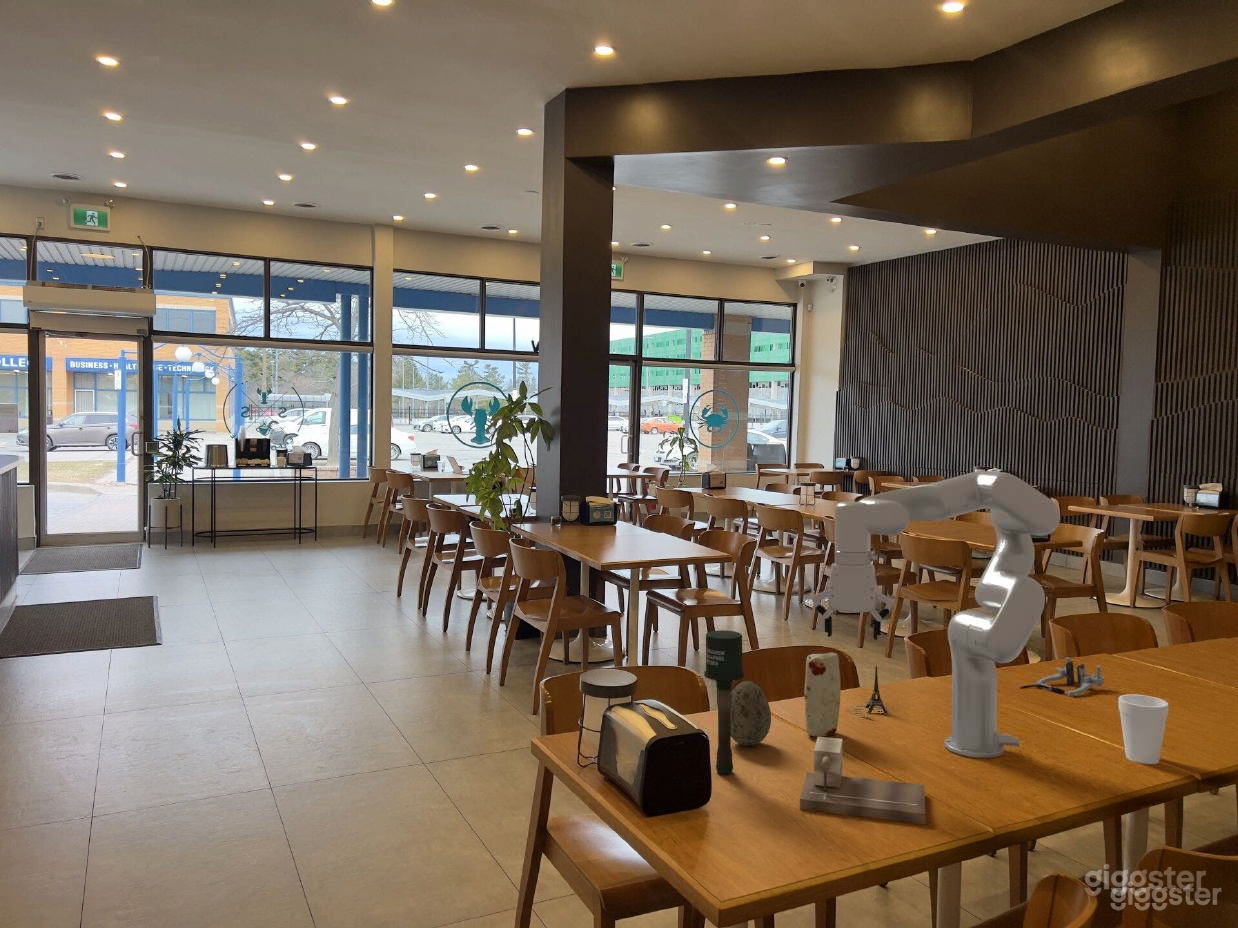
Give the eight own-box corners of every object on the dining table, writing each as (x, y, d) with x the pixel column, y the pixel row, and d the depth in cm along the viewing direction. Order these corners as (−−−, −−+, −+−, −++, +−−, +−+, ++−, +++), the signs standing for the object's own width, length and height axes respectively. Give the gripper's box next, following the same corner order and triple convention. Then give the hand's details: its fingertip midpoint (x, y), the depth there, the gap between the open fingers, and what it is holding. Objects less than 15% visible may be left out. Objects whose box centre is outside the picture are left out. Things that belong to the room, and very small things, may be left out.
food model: (816, 742, 206) (815, 658, 205) (797, 733, 212) (797, 651, 211) (847, 734, 211) (847, 652, 210) (828, 726, 217) (828, 646, 216)
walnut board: (923, 794, 176) (923, 784, 176) (925, 824, 163) (925, 813, 163) (807, 781, 183) (807, 771, 183) (799, 809, 170) (799, 798, 170)
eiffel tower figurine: (875, 701, 238) (875, 653, 238) (908, 711, 230) (908, 660, 230) (841, 713, 229) (841, 662, 228) (874, 723, 221) (874, 670, 220)
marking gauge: (842, 780, 182) (842, 738, 182) (838, 805, 170) (838, 760, 170) (817, 777, 184) (817, 736, 183) (811, 802, 172) (811, 758, 171)
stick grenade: (701, 765, 192) (700, 630, 191) (739, 764, 193) (739, 628, 192) (708, 780, 184) (707, 639, 183) (748, 779, 185) (748, 638, 184)
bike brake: (1065, 675, 257) (1020, 696, 248) (1063, 653, 256) (1018, 673, 247) (1110, 688, 245) (1064, 710, 236) (1108, 665, 244) (1062, 686, 235)
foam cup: (1150, 769, 188) (1151, 709, 187) (1109, 755, 196) (1109, 698, 196) (1176, 761, 192) (1177, 702, 192) (1135, 748, 200) (1135, 692, 200)
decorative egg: (736, 755, 198) (735, 689, 198) (717, 739, 209) (717, 677, 208) (779, 750, 201) (779, 685, 201) (758, 734, 212) (758, 673, 211)
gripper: (894, 557, 191) (894, 635, 192) (813, 555, 196) (813, 630, 197) (894, 562, 184) (894, 643, 185) (810, 559, 189) (810, 638, 190)
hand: (852, 636), depth 191 cm, fingers open, 9 cm apart
